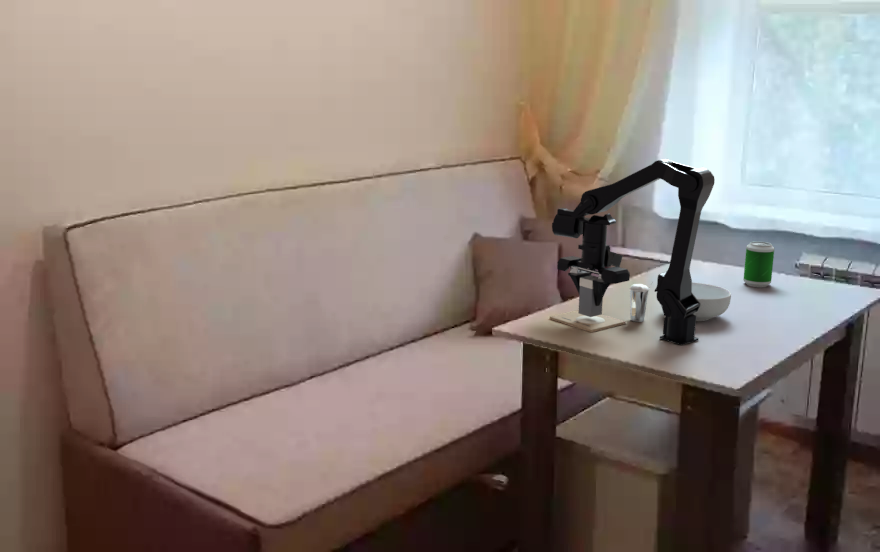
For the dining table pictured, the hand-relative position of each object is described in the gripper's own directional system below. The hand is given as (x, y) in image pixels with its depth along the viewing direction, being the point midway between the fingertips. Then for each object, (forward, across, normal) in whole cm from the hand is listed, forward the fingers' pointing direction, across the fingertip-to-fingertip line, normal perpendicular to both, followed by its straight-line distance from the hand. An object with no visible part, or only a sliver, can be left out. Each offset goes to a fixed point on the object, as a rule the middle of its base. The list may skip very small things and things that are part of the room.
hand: (590, 303), depth 234 cm
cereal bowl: (+5, -12, -25) cm, 28 cm away
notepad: (+5, +1, 0) cm, 5 cm away
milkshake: (+5, -6, -11) cm, 13 cm away
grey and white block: (+2, 0, 0) cm, 3 cm away
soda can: (+5, -3, -67) cm, 67 cm away
